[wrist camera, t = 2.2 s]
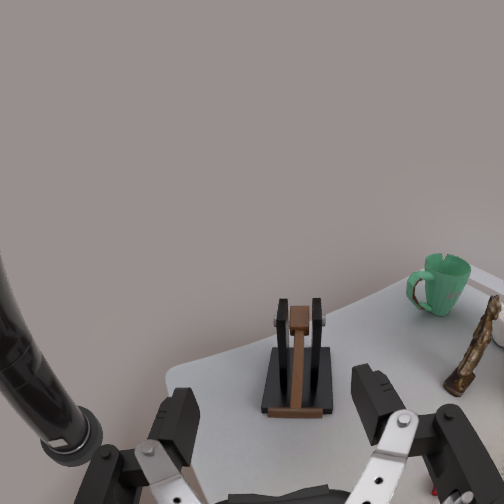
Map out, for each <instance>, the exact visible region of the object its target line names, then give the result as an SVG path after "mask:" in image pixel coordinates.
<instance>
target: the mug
mask: <svg viewBox="0 0 504 504" xmlns="http://www.w3.org/2000/svg"><path fill="white" fill-rule="evenodd" d="M470 272H471V267H470V265H469V264H468V263H467V262H466V261H465V260H463V259H461V258H459V257H457V256H454V255H449V254H447V256H446V258H445V260H444V261H443V258H442V254H441V253H438V254H432V255H429V256H428V257H427V258H426V260H425V271H418V272H414V273H412V274H411V276H410V277H409V279H408V281H407V292H406V294H407V297H408V298H409V299H410V300H411V301H412V303H413V304H414V305H415V306H416V307H417V308H418V309H420V310H425V311H430V312H431V313H432V314H434V315H438V316H444V315H446V314H447V313H448V312H449V311H450V310H451V308H452V307H453V306H454V304H455V303H456V301H457V299H458V298H459V296H460V294H461V293H462V291H463V289H464V287H465V284H466V282H467V280H468V278H469V275H470ZM422 280H425V290H426V300H427V304H425V303H421V302H418V300H417V298H416V296H415V286H416V285H417V283H418V282H419V281H422Z"/></svg>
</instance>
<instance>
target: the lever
mask: <svg viewBox="0 0 504 504" xmlns="http://www.w3.org/2000/svg"><path fill="white" fill-rule="evenodd" d="M289 327H290V335H291V336H294V354H293V372H292V388H291V402H290V407H268V417H270V418H322V416H323V408H322V407H309V408H301V401H302V383H303V359H304V336H308V335H309V306H291V307H290V326H289Z"/></svg>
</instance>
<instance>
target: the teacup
mask: <svg viewBox="0 0 504 504" xmlns="http://www.w3.org/2000/svg"><path fill="white" fill-rule="evenodd" d="M501 309H502V310H501V312H500V313H499V317H498V319H497V320H496V321H495V320H493V323H492V327H493V331H492V336H493V339H494V340H495V342H496V343H497V344H498V345H500V346H502V347H504V304H501Z"/></svg>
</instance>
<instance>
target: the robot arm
mask: <svg viewBox="0 0 504 504" xmlns="http://www.w3.org/2000/svg"><path fill="white" fill-rule="evenodd" d="M0 393H1V394H2V396H3V397H4V398H5V399H6V401H7V402H8V403H9V404H10V406H11V407H12V408H13V409H14V410H15V412H16V413H17V414H18V415H19V416H20V417H21V418H22V420H23V421H24V422H25V423H26V424H27V425H28V426H29V427H30V428H31V429H32V430H33V431H34V433H35V434H36V435H37V436H38V437H39V438H40V439H41V440H42V441H43V442H44V443H45V444H46V445H47V446H48V447H49V448H50V449H51V450H52V451H53V452H55V453H57V454H59V455H72V454H75V453H77V452H79V451H80V450H82V449H83V448H84V447H85V445H86V444H87V443H88V441H89V439H90V436H91V424H90V421H89V419H88V418H87V417H86V416H85V414H84V413H83V412H82V411H81V410H80V409H79V408H78V406H77V405H76V404H75V402H74V401H73V400H72V398H71V397H70V395H69V394H68V393H67V391H66V390H65V389H64V387H63V385H62V384H61V383H60V381H59V380H58V378H57V377H56V375H55V373H54V372H53V370H52V369H51V367H50V366H49V364H48V363H47V361H46V359H45V357H44V356H43V354H42V352H41V351H40V349H39V348H38V346H37V344H36V342H35V340H34V338H33V336H32V334H31V332H30V331H29V329H28V327H27V325H26V322H25V320H24V318H23V316H22V313H21V311H20V308H19V306H18V304H17V301H16V299H15V296H14V294H13V291H12V289H11V286H10V283H9V280H8V277H7V274H6V270H5V267H4V264H3V260H2V256H1V252H0ZM351 395H352V399H353V402H354V404H355V406H356V409H357V411H358V414H359V416H360V419H361V421H362V424H363V426H364V429H365V431H366V434H367V437H368V439H369V442H370V444H371V446H373V445H376V444H378V445H377V448H376V450H375V451H374V452H373V454H372V455H371V457H370V459H369V461H368V463H367V465H366V467H365V469H364V471H363V473H362V475H361V477H360V478H359V480H358V482H357V484H356V485H355V487H354V489H353V490H352V492H351V493H350V492H347V491H342V490H335V489H329V488H328V484H326V485H321V486H316V487H310V488H304V489H301V490H298V491H295V492H292V493H289V494H286V495H283V496H279V497H274V496H265V495H258V494H228V500H224V501H221V502H218V503H215V504H388V503H389V501H390V499H391V497H392V495H393V493H394V491H395V489H396V486H397V484H398V482H399V479H400V477H401V475H402V472H403V470H404V467H405V464H406V462H407V459H408V458H407V457H413V456H421V455H422V457H423V459H424V462H425V464H426V467H427V469H428V472H429V474H430V477H431V479H432V482H433V484H434V487H435V490H436V492H437V495H438V498H439V501H440V504H504V481H503V479H502V477H501V476H500V474H499V472H498V470H497V468H496V466H495V464H494V462H493V461H492V459H491V457H490V455H489V453H488V452H487V450H486V448H485V446H484V445H483V443H482V441H481V440H480V438H479V436H478V435H477V433H476V431H475V430H474V428H473V427H472V425H471V423H470V422H469V420H468V419H467V417H466V416H465V414H464V412H463V411H462V409H461V408H460V407H459V406H457V405H455V404H445V405H443V406H441V407H440V408H439V409H438V410H437V412H436V413H435V414H427V415H417V414H416V413H415V412H413V411H411V410H408V409H406V408H405V406H404V404H403V402H402V401H401V399H400V397H399V396H398V394H397V392H396V391H395V389H394V387H393V386H392V384H390V381H389V379H388V378H387V376H386V375H385V374H383V373H382V372H380V371H379V370H378V371H374V372H373V371H372V370H371V368H370V366H369V365H368V364H367V363H366V364H362V365H358V366H354V367H353V368H352V379H351ZM199 420H200V410H199V406H198V404H197V402H196V399H195V397H194V394H193V391H192V389H191V388H175V390H174V393H173V395H172V397H167V398H166V399H165V400H164V401H163V402H162V403H161V405H160V408H159V410H158V413H157V415H156V419H155V420H154V423H153V426H152V428H151V431H150V433H149V436H148V438H147V440H144V441H142V442H140V443H139V444H138V445H137V446H136V448H135V449H130V450H121V451H119V450H118V449H117V448H116V447H115V446H114V445H110V444H106V445H102V446H100V447H98V448H97V449H96V450H95V452H94V454H93V457H92V459H91V461H90V464H89V466H88V469H87V471H86V474H85V476H84V478H83V481H82V483H81V486H80V488H79V491H78V494H77V496H76V499H75V501H74V504H139V500H140V496H141V492H142V488H143V486H149V489H150V490H151V492H152V494H153V496H154V498H155V499H156V501H157V503H158V504H204V503H203V502H202V500H201V499H200V498H199V497H198V495H197V494H196V493H195V491H194V490H193V489H192V487H191V486H190V484H189V483H188V482H187V480H186V479H185V478H184V476H183V475H182V473H181V469H182V466H186V467H190V463H191V458H192V453H193V448H194V444H195V439H196V434H197V430H198V425H199Z"/></svg>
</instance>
